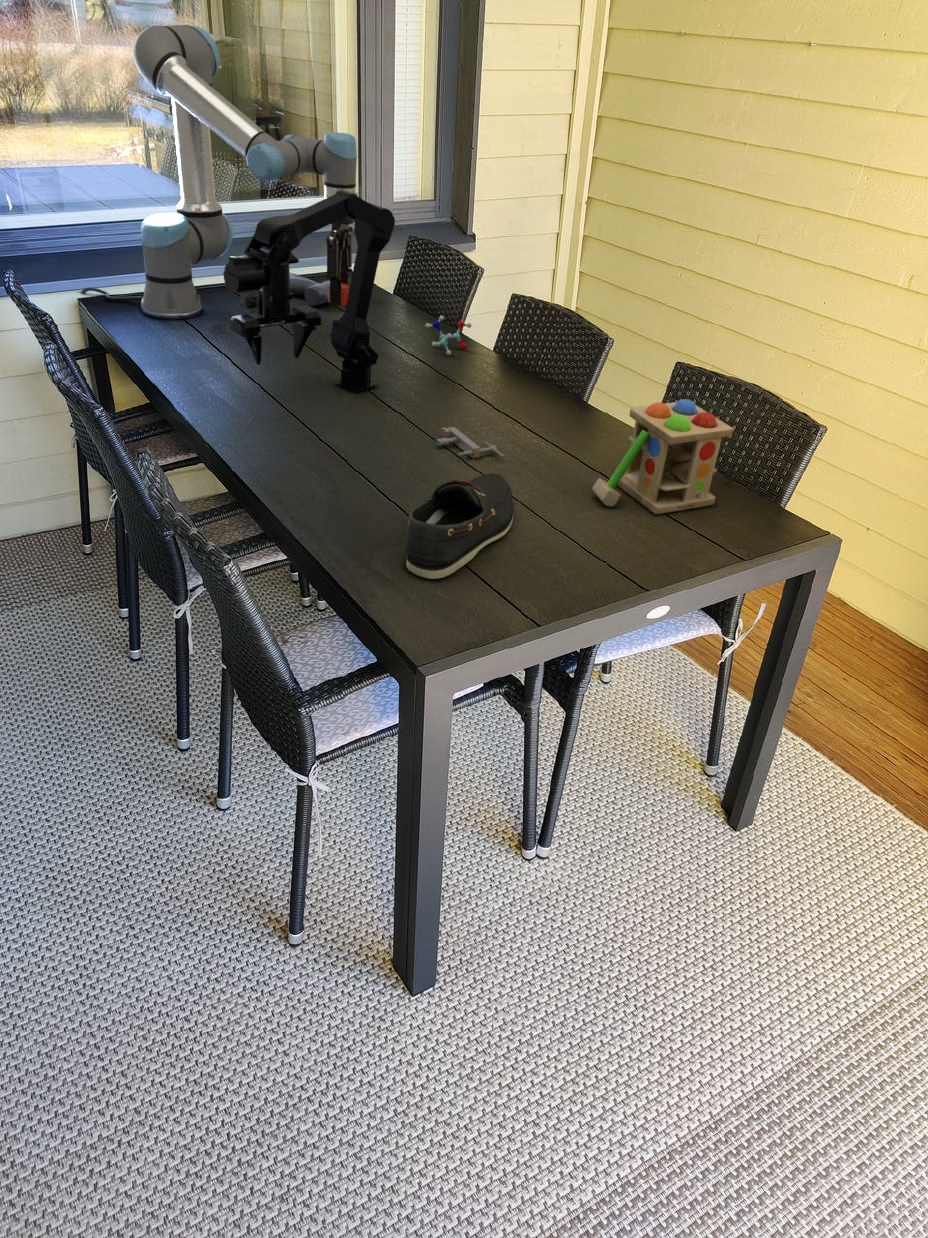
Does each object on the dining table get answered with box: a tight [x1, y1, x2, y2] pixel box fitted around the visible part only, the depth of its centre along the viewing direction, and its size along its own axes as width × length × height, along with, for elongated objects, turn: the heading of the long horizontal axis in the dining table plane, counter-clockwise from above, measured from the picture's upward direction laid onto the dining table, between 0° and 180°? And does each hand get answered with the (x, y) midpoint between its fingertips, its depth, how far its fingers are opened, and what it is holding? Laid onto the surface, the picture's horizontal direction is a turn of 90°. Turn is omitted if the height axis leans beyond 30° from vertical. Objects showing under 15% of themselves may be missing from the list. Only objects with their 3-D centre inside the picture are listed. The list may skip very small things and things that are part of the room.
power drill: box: [289, 271, 352, 307], centre depth 280 cm, size 5×19×20 cm
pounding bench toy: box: [591, 398, 734, 515], centre depth 186 cm, size 23×14×18 cm, turn 116°
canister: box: [328, 283, 349, 306], centre depth 249 cm, size 5×5×4 cm
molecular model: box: [424, 315, 472, 356], centre depth 250 cm, size 12×10×10 cm
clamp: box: [436, 426, 507, 460], centre depth 201 cm, size 15×2×10 cm
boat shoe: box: [403, 472, 515, 580], centre depth 170 cm, size 13×33×10 cm, turn 147°
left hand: (339, 300), depth 250 cm, fingers closed on canister, 5 cm apart
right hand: (277, 360), depth 208 cm, fingers open, 9 cm apart
